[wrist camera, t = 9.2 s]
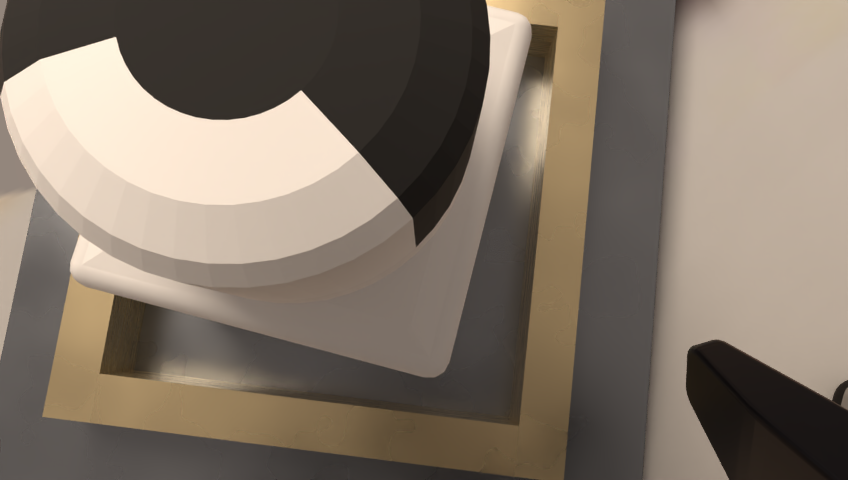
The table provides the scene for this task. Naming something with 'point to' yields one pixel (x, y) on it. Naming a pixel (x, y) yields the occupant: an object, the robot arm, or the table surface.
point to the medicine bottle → (272, 157)
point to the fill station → (376, 385)
